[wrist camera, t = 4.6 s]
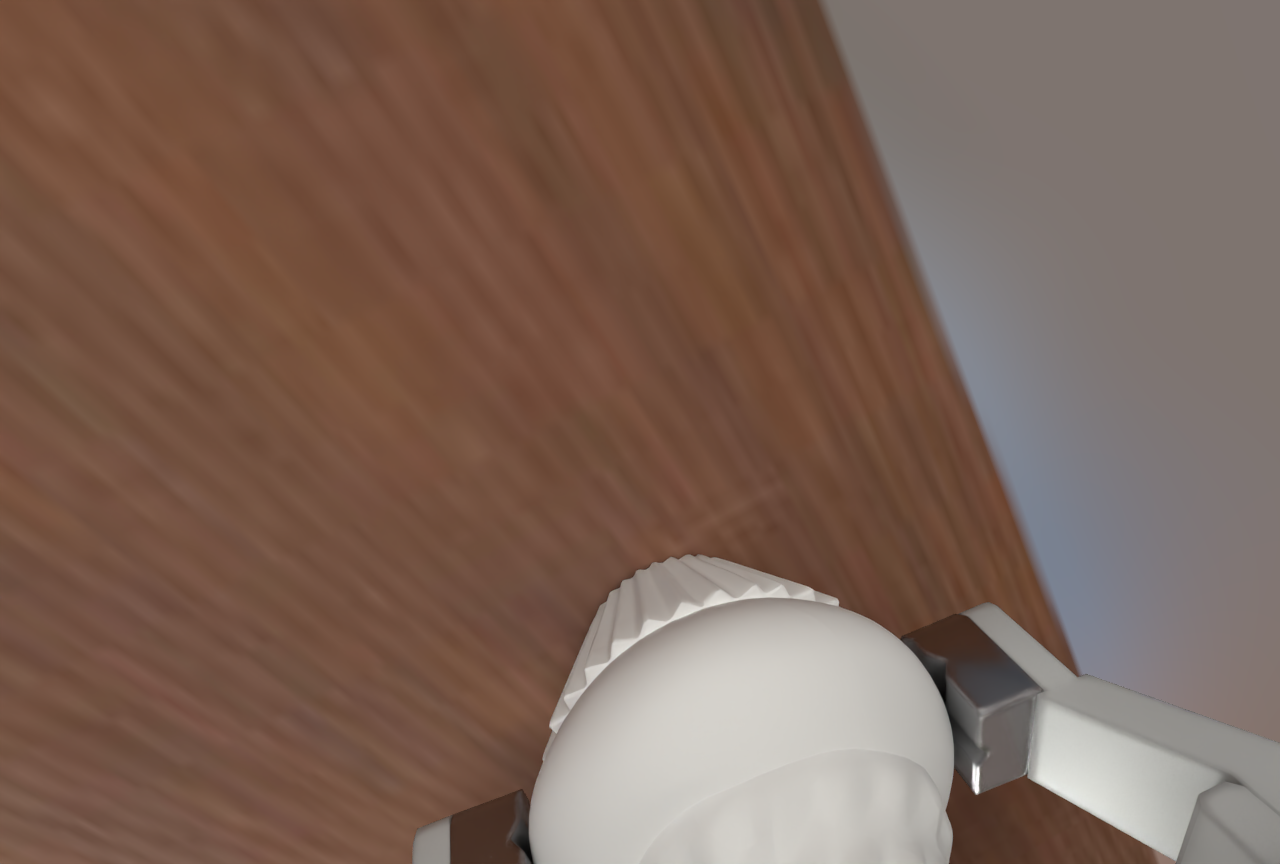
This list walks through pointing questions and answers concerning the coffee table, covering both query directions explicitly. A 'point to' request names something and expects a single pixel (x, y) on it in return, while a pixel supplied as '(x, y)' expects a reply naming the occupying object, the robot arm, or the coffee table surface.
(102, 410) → the coffee table surface
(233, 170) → the coffee table surface
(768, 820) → the muffin
